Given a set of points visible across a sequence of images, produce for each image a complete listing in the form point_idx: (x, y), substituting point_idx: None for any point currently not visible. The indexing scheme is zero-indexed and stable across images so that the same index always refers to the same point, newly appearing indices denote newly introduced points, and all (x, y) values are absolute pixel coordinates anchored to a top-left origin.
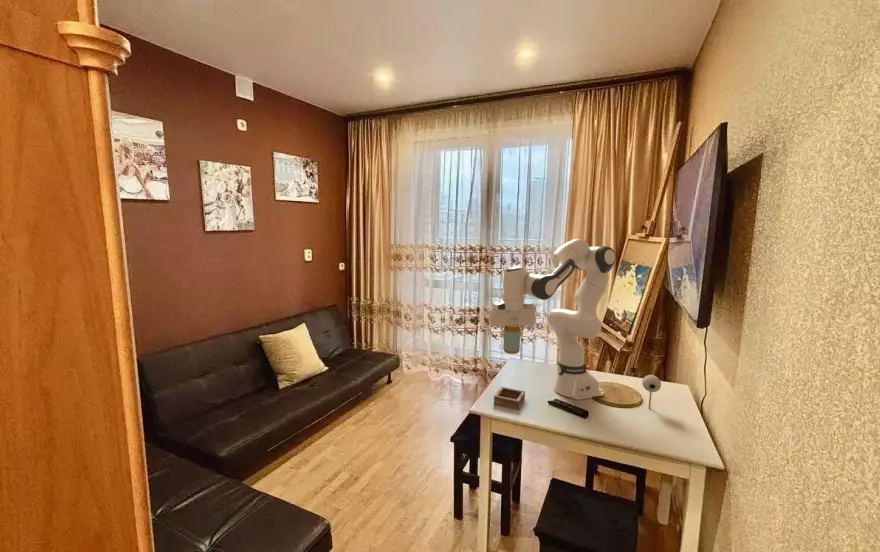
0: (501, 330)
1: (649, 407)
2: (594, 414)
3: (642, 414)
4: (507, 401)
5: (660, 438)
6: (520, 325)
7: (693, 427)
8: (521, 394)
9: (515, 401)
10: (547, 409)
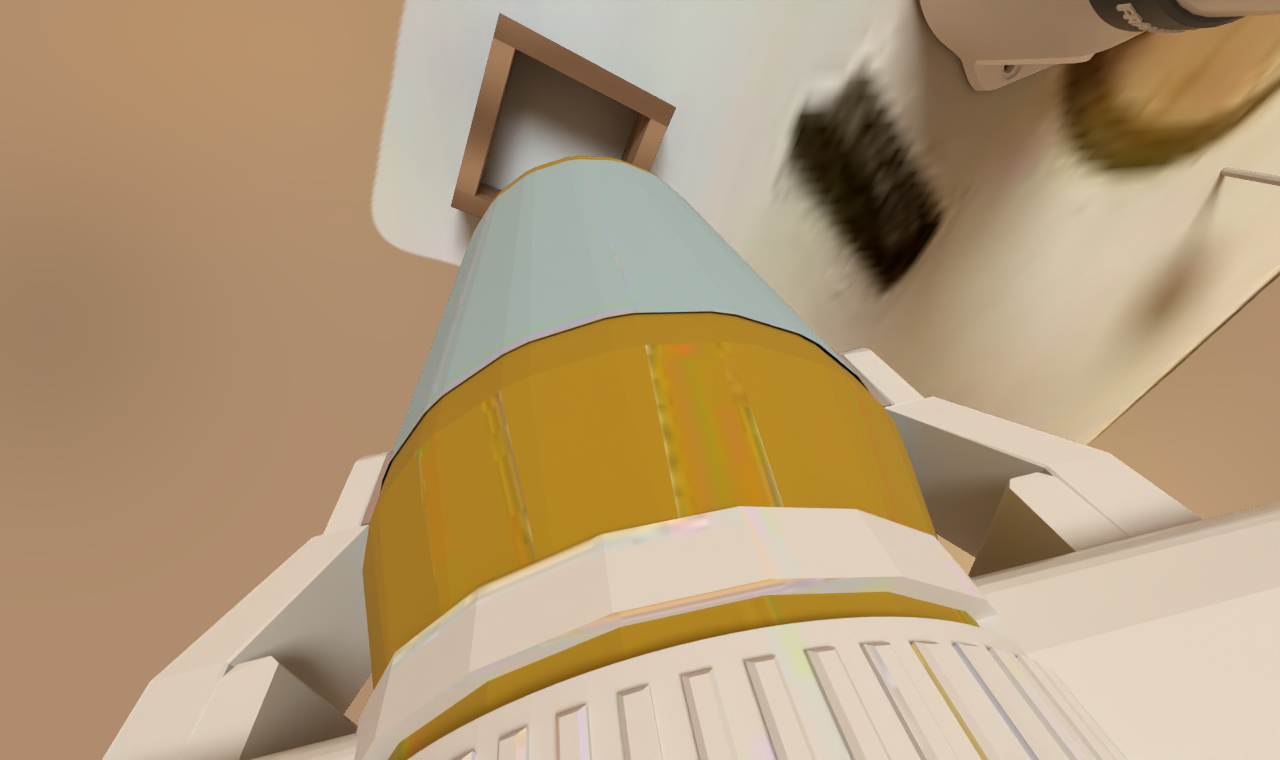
0: (307, 571)
1: (1228, 175)
2: (946, 252)
3: (1138, 232)
4: None
5: (1032, 387)
6: (1031, 512)
7: (1202, 311)
8: (641, 164)
9: None
10: (756, 222)
